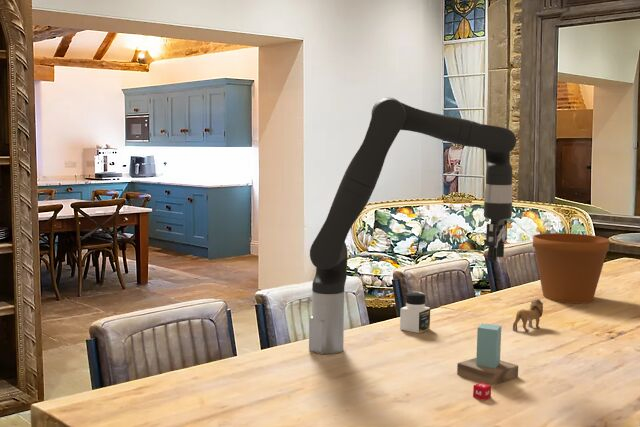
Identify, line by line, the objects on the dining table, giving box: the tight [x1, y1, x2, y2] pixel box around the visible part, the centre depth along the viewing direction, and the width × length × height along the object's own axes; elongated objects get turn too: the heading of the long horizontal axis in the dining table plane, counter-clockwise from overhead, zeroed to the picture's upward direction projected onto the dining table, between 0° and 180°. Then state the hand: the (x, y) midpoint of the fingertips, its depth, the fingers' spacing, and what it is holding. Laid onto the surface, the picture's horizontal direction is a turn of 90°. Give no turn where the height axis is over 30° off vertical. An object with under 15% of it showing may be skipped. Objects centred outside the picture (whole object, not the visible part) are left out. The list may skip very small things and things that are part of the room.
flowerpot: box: [532, 232, 610, 304], centre depth 284 cm, size 28×28×24 cm
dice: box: [472, 382, 492, 401], centre depth 174 cm, size 3×3×3 cm
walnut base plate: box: [456, 357, 519, 387], centre depth 190 cm, size 11×11×3 cm
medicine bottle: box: [399, 291, 431, 334], centre depth 234 cm, size 7×7×12 cm
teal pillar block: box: [475, 322, 502, 368], centre depth 189 cm, size 5×5×10 cm
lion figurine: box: [512, 298, 544, 332], centre depth 237 cm, size 15×5×9 cm, turn 135°
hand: (495, 258), depth 203 cm, fingers open, 8 cm apart
